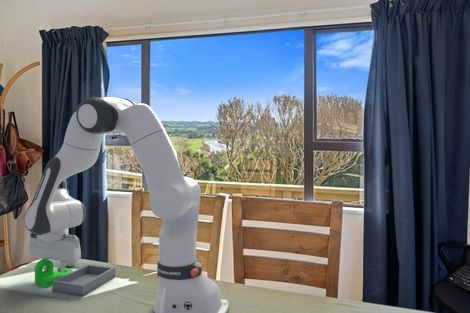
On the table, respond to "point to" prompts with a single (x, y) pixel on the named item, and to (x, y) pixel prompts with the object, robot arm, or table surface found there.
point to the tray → (83, 280)
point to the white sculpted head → (70, 264)
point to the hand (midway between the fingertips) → (54, 271)
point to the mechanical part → (47, 273)
